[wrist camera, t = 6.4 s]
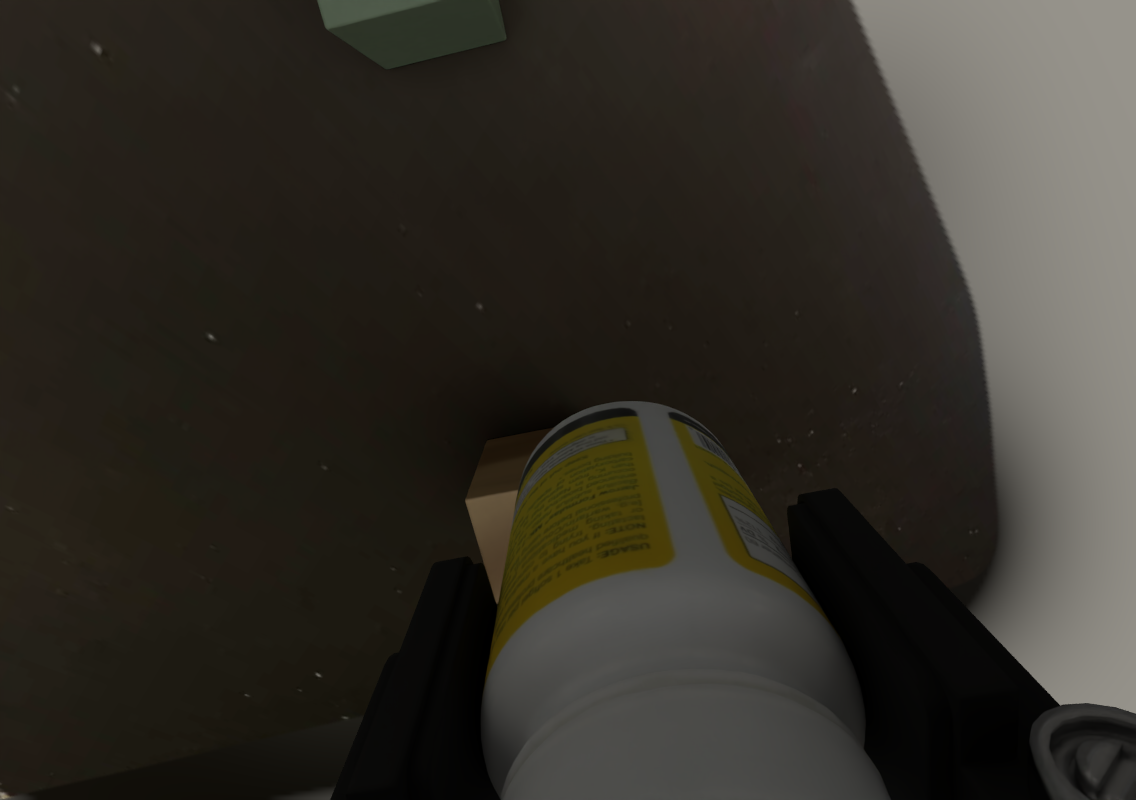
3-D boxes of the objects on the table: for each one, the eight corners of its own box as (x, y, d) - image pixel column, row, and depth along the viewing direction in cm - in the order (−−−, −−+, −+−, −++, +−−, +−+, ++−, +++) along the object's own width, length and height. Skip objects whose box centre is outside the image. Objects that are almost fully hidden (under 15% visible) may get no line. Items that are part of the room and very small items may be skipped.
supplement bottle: (505, 569, 14) (407, 1091, 6) (536, 377, 12) (464, 726, 4) (706, 600, 14) (883, 1145, 6) (762, 416, 12) (1103, 816, 4)
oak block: (486, 439, 29) (464, 500, 23) (587, 420, 28) (590, 476, 22) (510, 527, 30) (495, 604, 24) (606, 510, 30) (613, 584, 24)
